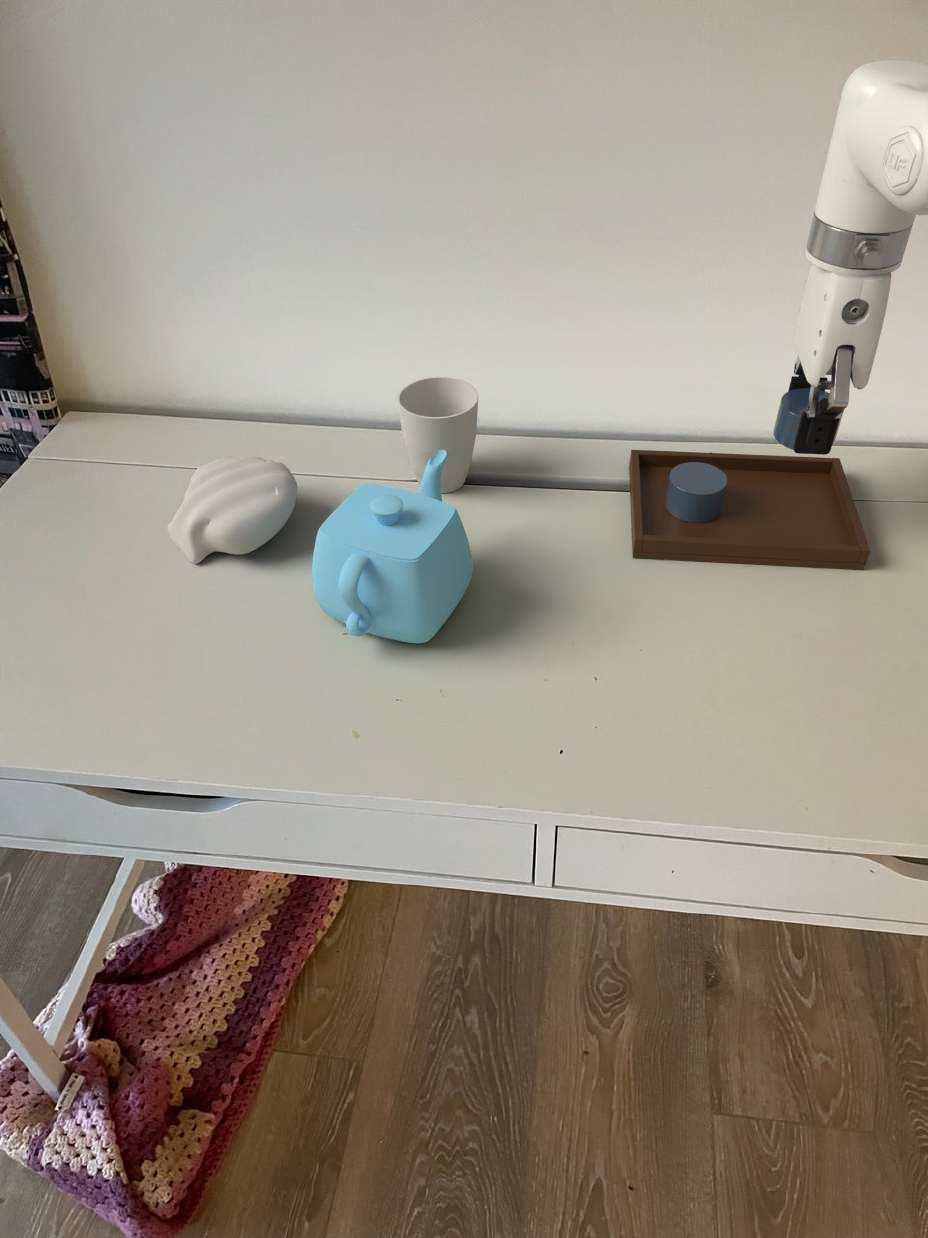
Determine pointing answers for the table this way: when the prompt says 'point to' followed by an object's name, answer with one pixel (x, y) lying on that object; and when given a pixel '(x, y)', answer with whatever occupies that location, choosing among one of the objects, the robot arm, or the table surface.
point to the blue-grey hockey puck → (794, 415)
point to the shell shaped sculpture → (233, 507)
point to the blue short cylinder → (696, 492)
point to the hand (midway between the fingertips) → (805, 431)
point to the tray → (751, 512)
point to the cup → (439, 426)
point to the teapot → (393, 560)
